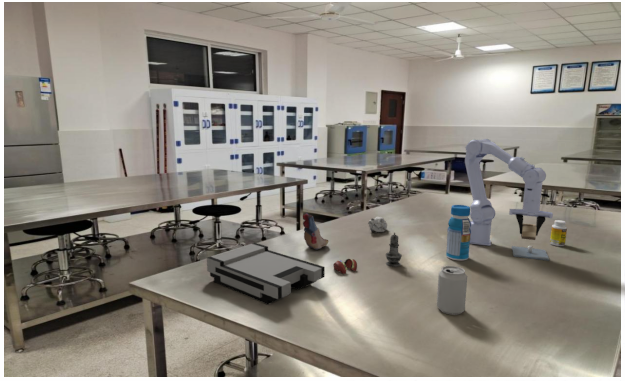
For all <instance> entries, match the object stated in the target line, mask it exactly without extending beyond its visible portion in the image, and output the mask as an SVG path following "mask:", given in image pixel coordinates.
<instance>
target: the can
mask: <svg viewBox="0 0 625 381" xmlns="http://www.w3.org/2000/svg"><path fill="white" fill-rule="evenodd" d="M467 283H468V274H466V270H465V269H464V268H463V267H459V266H458V265H457V266H456V265H445V266H441V270H440V271H438V280H437V293H436V294H437V296H436V307H437V308H438V309H439V311H441V313H444V314H447V315H451V316H452V315H453V316H456V315H461V314H462V313H463V312H464V311H465V310H466V302H467V298H466V297H467V286H468V284H467Z"/></svg>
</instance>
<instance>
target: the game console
mask: <svg viewBox="0 0 625 381" xmlns="http://www.w3.org/2000/svg"><path fill="white" fill-rule="evenodd" d="M206 271H207V273H208V272H209V276H210V278H211V277H212V278H213V283H215V284H218V285H221V286H223V287H225V288H228V289H230V290H232V291H234V292H237V293H239V294H242V295H244V296H246V297H250V298H251V299H254V300H257V301H258V302H261V303H264V304H266V305H270V304H271V303H275V302H277V301H279V300H282V299H283V298H285V297H287V296H289V295H290V294H292V288H293V289H295V290H300V289H302V288H307V287H308V286H310V285H312V284H314V283H316V282H317V281H319V280H321V279H323V278H325V276H326V275H325V274H326V273H325V272H326V271H325V266H323V265H319V264H316V263H313V262H309V261H306V260H304V259H300V258H297V257H293V256H291V255H290V256H289V255H287V254H283V253H279V252H276V251H272V250H269V246H267V245H263V244H260V243H257V242H253V243H249V244H246V245H243V246H240V247H237V248H234V249H231V250H227V251H223V252H221V253H218V254H214V255H211V256H208V257H206Z"/></svg>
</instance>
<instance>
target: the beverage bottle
mask: <svg viewBox="0 0 625 381" xmlns="http://www.w3.org/2000/svg"><path fill="white" fill-rule="evenodd" d="M450 209H451V210H450V214H451V217H450V218H449V220H448V223H447V225H448V227H447V229H446V230H447V235H446V252H445V256H446V257H447V259H449V260H453V261H460V262H461V261H462V262H463V261H467V260H468V259H469V257H470V235H471V229H470V227H471V222H470V221H471V220H470V218H469V217H470V213H471V207H470V206H468V205H464V204H452V205H451V207H450Z"/></svg>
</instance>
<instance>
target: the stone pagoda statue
mask: <svg viewBox="0 0 625 381" xmlns="http://www.w3.org/2000/svg"><path fill="white" fill-rule="evenodd" d="M389 240H390V241H389V242H390V243H389V244H388V246H389V250H388V251H389V252H387V253H385V257H386V260H387V262H386V263H385V265H386V266H388V267H392V268H397V267H401V263H400V260H401V259H402V257H403V255H402V254H401V253H399V247H400V244H399V236H398V235H397V234H396V232H393V234H392V235H391V236H390V239H389Z"/></svg>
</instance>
